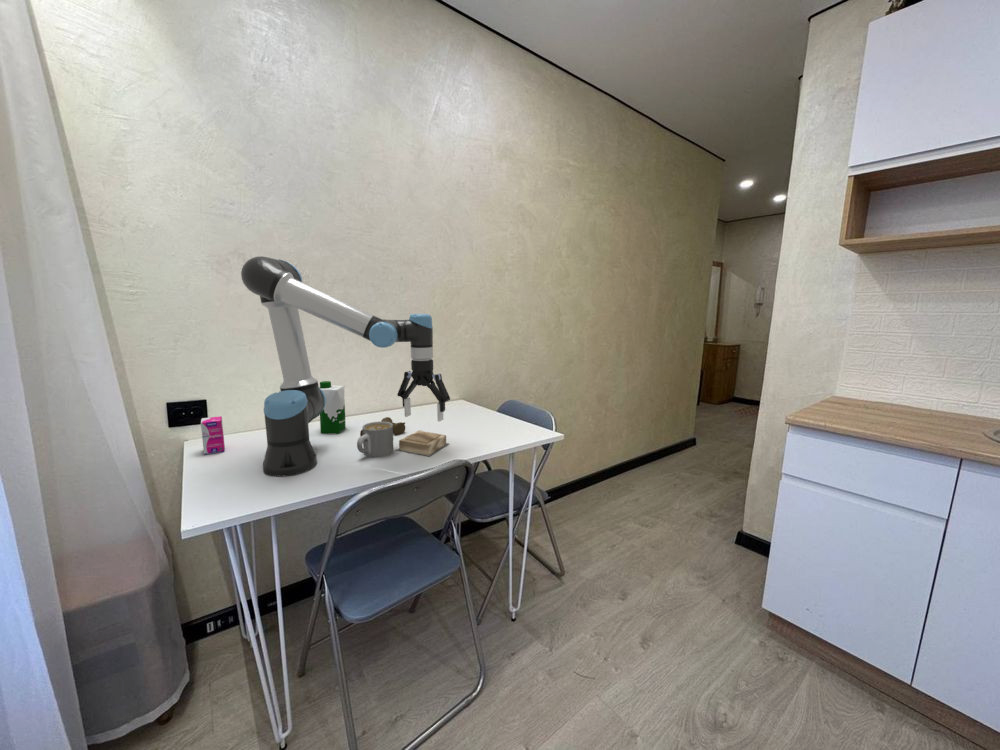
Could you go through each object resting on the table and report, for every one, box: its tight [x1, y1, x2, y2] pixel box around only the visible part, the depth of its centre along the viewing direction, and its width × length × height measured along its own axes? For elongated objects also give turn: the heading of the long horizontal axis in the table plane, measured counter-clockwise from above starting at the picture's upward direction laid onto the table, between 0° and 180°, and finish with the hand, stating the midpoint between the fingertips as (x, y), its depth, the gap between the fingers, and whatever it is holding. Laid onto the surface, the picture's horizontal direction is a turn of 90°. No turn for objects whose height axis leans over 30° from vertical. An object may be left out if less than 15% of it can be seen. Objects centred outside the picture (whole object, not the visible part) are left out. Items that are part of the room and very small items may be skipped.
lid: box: [398, 430, 447, 456], centre depth 143 cm, size 12×12×4 cm
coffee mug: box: [356, 421, 394, 458], centre depth 136 cm, size 13×10×10 cm
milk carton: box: [319, 380, 347, 435], centre depth 158 cm, size 9×9×20 cm
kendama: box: [359, 416, 406, 437], centre depth 156 cm, size 6×10×20 cm
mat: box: [395, 442, 450, 458], centre depth 143 cm, size 14×14×1 cm
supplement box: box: [200, 416, 226, 456], centre depth 136 cm, size 6×6×12 cm
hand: (423, 418), depth 141 cm, fingers open, 13 cm apart
